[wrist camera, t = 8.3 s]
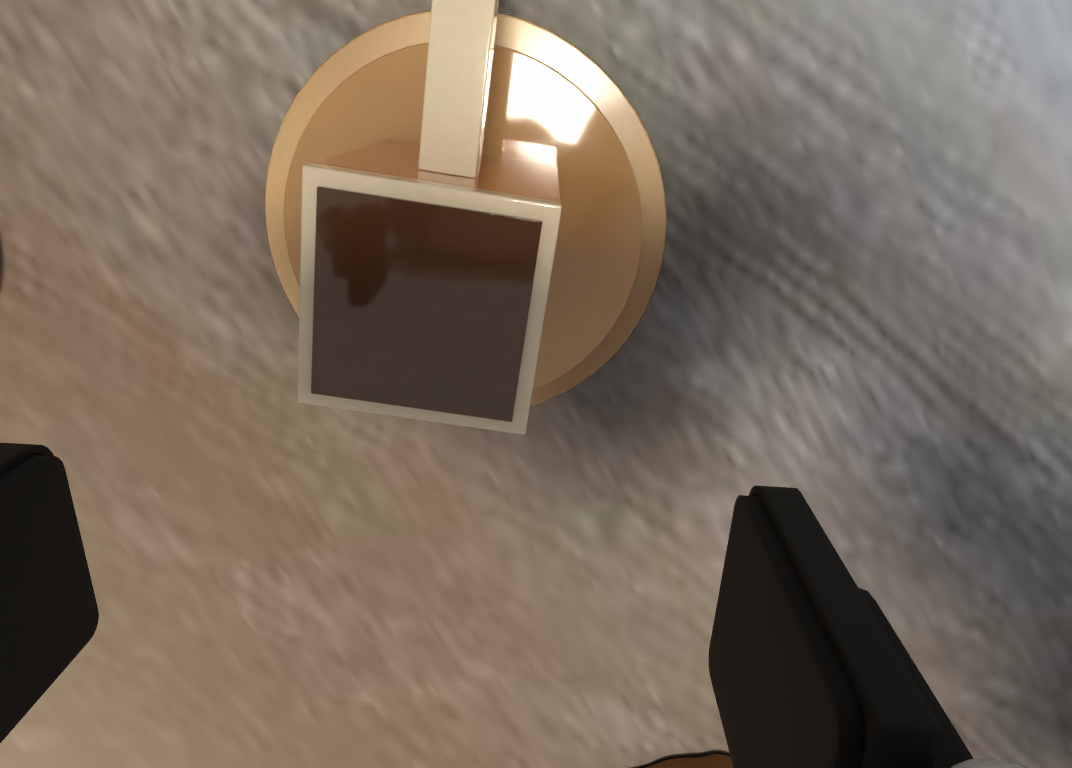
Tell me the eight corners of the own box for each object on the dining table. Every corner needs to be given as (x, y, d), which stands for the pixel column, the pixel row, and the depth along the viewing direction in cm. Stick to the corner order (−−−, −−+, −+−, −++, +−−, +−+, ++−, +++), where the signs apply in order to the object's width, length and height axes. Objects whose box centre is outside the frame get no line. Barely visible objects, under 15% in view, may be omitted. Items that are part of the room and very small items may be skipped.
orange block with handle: (604, 417, 29) (630, 565, 20) (286, 371, 28) (164, 502, 19) (696, -22, 23) (792, -95, 14) (292, -92, 22) (119, -214, 13)
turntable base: (740, 166, 27) (750, 170, 25) (529, 460, 32) (528, 475, 30) (389, -83, 24) (380, -93, 22) (218, 283, 29) (202, 292, 27)
